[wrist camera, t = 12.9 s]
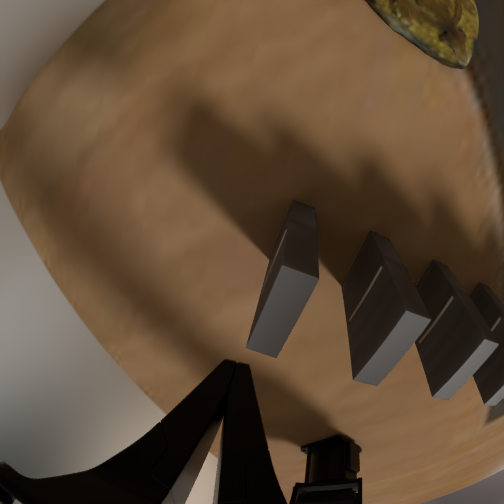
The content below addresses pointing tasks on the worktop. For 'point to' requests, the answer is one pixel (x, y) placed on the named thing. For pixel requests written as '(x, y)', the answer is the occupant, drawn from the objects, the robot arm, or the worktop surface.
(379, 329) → the domino
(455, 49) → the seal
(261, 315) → the domino
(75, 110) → the worktop surface
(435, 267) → the domino
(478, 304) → the domino
